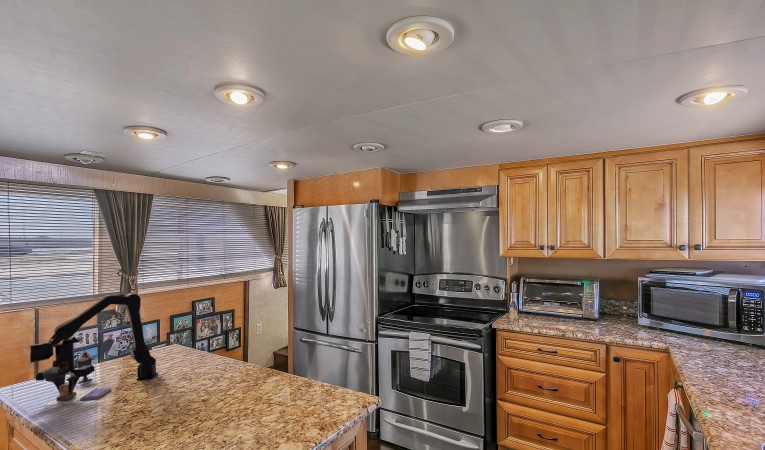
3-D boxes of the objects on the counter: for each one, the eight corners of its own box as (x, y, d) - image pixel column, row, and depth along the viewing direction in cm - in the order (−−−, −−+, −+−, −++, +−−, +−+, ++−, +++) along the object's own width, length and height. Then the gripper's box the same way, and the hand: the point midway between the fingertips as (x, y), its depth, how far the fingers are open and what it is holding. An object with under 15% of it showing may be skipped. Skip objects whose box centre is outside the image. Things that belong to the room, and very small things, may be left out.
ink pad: (111, 390, 155) (111, 387, 155) (98, 398, 147) (98, 395, 147) (93, 391, 155) (93, 389, 155) (80, 400, 147) (80, 397, 147)
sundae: (84, 384, 163) (82, 351, 163) (72, 384, 165) (70, 351, 165) (98, 378, 170) (97, 346, 170) (86, 378, 171) (85, 346, 171)
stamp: (76, 395, 150) (75, 381, 150) (68, 400, 146) (67, 385, 146) (64, 396, 150) (64, 382, 150) (56, 401, 145) (55, 386, 146)
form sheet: (99, 386, 160) (99, 385, 160) (72, 403, 144) (72, 402, 144) (75, 388, 159) (75, 387, 159) (45, 405, 143) (45, 405, 143)
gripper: (22, 364, 139) (24, 405, 139) (75, 360, 141) (76, 400, 141) (46, 354, 150) (47, 392, 150) (94, 350, 152) (96, 388, 152)
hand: (66, 393), depth 148 cm, fingers closed on stamp, 3 cm apart
